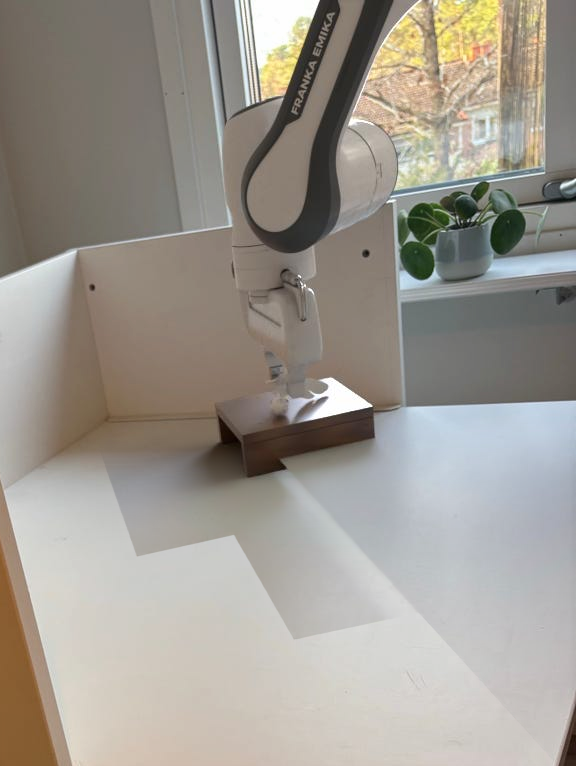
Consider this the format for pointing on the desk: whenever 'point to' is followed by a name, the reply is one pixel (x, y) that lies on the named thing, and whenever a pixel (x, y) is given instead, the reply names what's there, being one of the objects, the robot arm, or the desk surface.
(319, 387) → the fairy figurine
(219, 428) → the display shelf
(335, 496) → the desk surface
